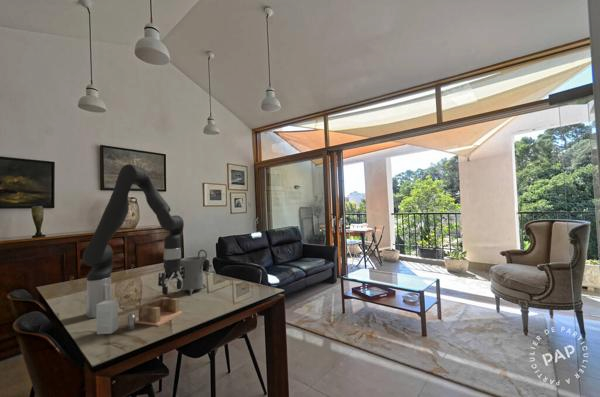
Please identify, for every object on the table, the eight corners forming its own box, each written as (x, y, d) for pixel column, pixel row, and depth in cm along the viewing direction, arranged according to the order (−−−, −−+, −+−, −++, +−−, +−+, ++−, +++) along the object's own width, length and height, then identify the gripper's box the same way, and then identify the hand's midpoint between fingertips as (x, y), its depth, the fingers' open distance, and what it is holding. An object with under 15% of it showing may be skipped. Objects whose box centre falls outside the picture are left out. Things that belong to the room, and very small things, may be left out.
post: (126, 330, 109) (126, 315, 109) (132, 327, 111) (131, 313, 111) (131, 330, 108) (130, 316, 108) (136, 328, 110) (136, 313, 110)
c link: (138, 320, 116) (138, 306, 116) (162, 309, 128) (162, 296, 128) (156, 323, 113) (156, 308, 113) (179, 311, 125) (178, 298, 125)
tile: (132, 322, 116) (132, 320, 116) (158, 310, 130) (158, 308, 130) (158, 326, 112) (158, 324, 112) (182, 312, 125) (182, 311, 125)
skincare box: (118, 329, 110) (118, 300, 110) (111, 334, 106) (111, 304, 106) (103, 329, 110) (103, 300, 110) (96, 334, 106) (95, 304, 106)
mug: (172, 294, 153) (171, 251, 154) (189, 286, 168) (188, 247, 168) (199, 296, 148) (198, 251, 149) (215, 288, 162) (214, 247, 163)
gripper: (177, 254, 133) (177, 286, 133) (153, 259, 120) (153, 295, 119) (189, 255, 131) (189, 287, 130) (166, 260, 117) (166, 297, 117)
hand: (172, 291), depth 125 cm, fingers open, 8 cm apart
